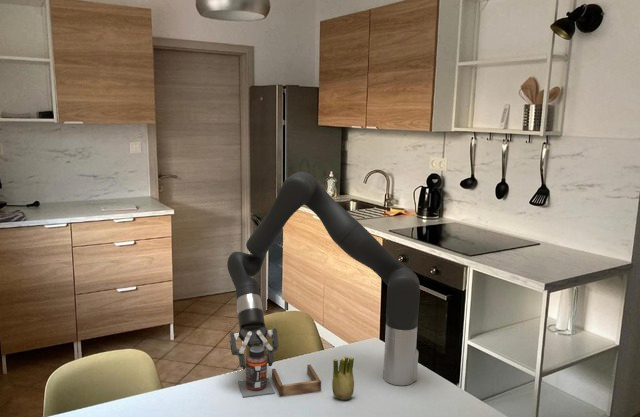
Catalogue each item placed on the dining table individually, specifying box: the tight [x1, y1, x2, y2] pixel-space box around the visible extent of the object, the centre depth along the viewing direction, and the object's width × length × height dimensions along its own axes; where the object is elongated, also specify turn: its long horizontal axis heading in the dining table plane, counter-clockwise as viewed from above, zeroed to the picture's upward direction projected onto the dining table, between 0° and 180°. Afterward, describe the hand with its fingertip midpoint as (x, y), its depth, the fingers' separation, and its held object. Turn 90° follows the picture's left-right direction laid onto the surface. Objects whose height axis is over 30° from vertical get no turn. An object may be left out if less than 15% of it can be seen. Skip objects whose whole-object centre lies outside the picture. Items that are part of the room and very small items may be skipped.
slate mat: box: [237, 377, 276, 399], centre depth 153 cm, size 9×9×1 cm
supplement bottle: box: [245, 346, 268, 390], centre depth 152 cm, size 6×6×11 cm
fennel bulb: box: [331, 355, 355, 401], centre depth 148 cm, size 6×5×12 cm
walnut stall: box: [271, 364, 322, 398], centre depth 155 cm, size 12×11×3 cm
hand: (257, 366), depth 150 cm, fingers open, 7 cm apart
